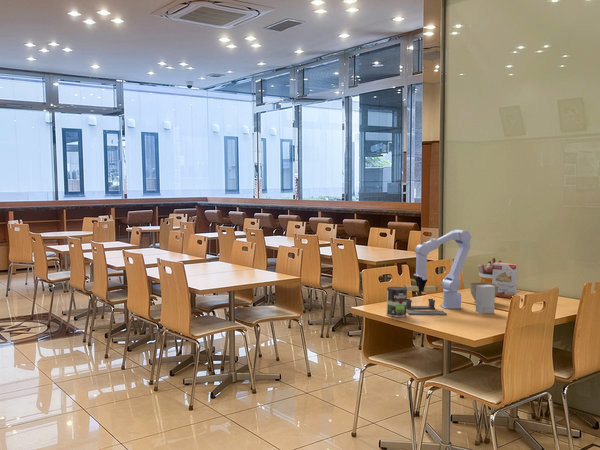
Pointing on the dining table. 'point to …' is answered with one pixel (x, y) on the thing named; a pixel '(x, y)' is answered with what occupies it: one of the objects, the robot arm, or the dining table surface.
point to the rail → (426, 288)
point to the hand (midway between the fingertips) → (420, 291)
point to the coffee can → (396, 301)
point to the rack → (431, 306)
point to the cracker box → (505, 279)
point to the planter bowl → (473, 285)
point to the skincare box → (485, 299)
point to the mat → (425, 312)
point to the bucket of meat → (486, 272)
